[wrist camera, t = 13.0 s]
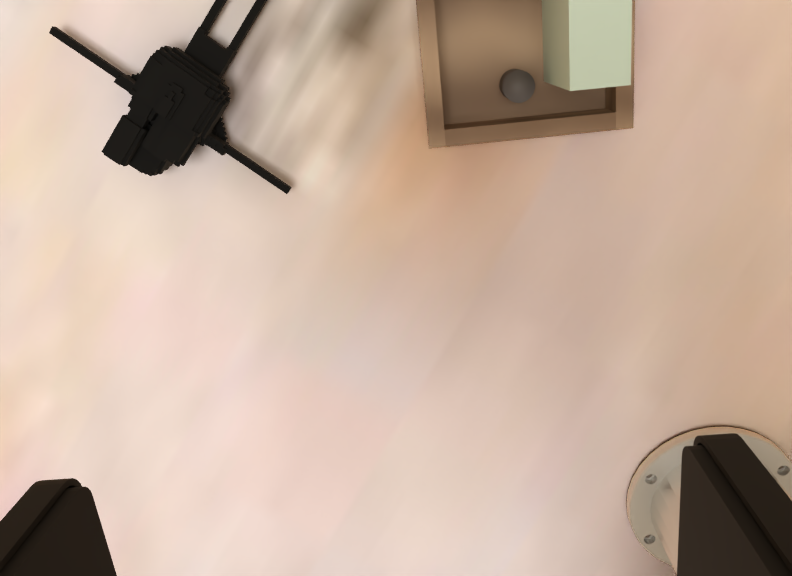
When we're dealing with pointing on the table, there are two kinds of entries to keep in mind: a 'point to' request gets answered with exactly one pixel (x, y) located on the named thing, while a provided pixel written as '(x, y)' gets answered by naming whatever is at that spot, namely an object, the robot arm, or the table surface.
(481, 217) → the table surface
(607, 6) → the light green rectangular block
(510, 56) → the brown wooden shallow tray
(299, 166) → the table surface
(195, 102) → the toy
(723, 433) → the robot arm
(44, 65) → the table surface
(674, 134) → the table surface
